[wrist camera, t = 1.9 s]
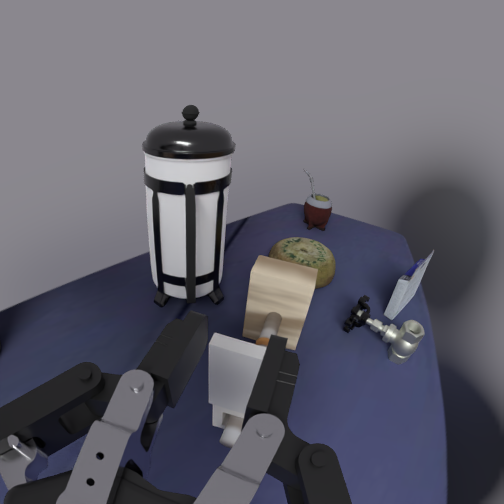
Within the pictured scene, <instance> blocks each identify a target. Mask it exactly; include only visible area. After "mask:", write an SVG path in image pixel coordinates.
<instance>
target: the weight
mask: <svg viewBox="0 0 504 504" xmlns="http://www.w3.org/2000/svg"><path fill="white" fill-rule="evenodd" d="M269 257H270V258H274V259H278V260H282V261H286V262H290V263H294V264H298V265H302V266H306V267H311V268H315V269H318V272H317V278H316V284H315V289H317V288H321V287H324V286H326V285H328V284H329V283H330V282H331V281H332V279H333V277H334V274H335V259H334V257H333V254H332V252H331V251H330V250H329V249H328V248H327V247H325V246H324V245H323V244H321V243H319V242H317V241H315V240H311V239H307V238H299V237H294V238H287V239H283V240H281V241H279V242H277V243H276V244H275V245H274V246H273V247H272V249H271V250H270V252H269Z"/></svg>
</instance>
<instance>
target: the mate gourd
mask: <svg viewBox="0 0 504 504" xmlns="http://www.w3.org/2000/svg"><path fill="white" fill-rule="evenodd" d="M303 170H304V171H305V172H306V173H307V174H308V176H309V177H310V182H311V186H312V193H313V194H311V195H310V196H309V197H308V198H307V199H306V202H305V205H304V214H305V220H304V222H305V223H307V224H309V226H308V227H307V229H308V230H310V229H312V228H314V227H316V228H318V229H320V230H322V231H324V230H325V228H324V227H325V225H326V224H327V222H328V219H329V217H330V215H331V210H332V203H331V200H330V199H329V198H328V197H327V196H324V195H321V194H315V192H314V185H313V178H312V176H311V175H310V174H309V173H308V172H307V171H306V170H305V169H303Z"/></svg>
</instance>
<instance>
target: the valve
mask: <svg viewBox="0 0 504 504" xmlns="http://www.w3.org/2000/svg"><path fill="white" fill-rule="evenodd" d="M369 299H370V298H369V297H367V296H366V295H364V296H363V297H360V299H359V301H358V304H357V306H356V307H353V309H352V311H351V313H352V314H351V316H350V318H348V319H347V320H346V322H345V325H346V326H345V327H344V329H343V330H344V331H345V332H347V333H349V332H350V329H351V330H353V329H354V327H361V326H362V325H365V324H366V323H367V324H368V325H370V326H371V327H370V329H372V330H373V331H375V332H378V331H379V332H380V333H381V334H380V335H382V336H383V338H382V340H383V341H384V342H386V343H387V342H390V343H392V344H391V346H390V347H389V349H388V358H389V360H391V361H392V362H394V363H396V364H398V365H399V364H402V363H404V362H406V361H407V360H408V358H409V357H410V356H411V354H412V353H414V352H415V350H416V349H417V346H418V342H420V341H421V339H422V337H423V336H424V329H423V327H422V325H421V324H419V323H418V322H416V321H414V320H409V321H406V322H404V323H403V325H402V327H401V329H400V330H398V329H396V326H395V325H393V324H391V325H390V326H387V325H385V326H383V325H382V322H380V321H379V320H377V319H375V320H372V319H370V314H369V313H370V307H369V306H368V304H366V303H365V302H366V301H369ZM363 309H364V310H365V309H367V311H366V312H365V311H362V310H363ZM356 320H357V322H359V323H357V322H356Z"/></svg>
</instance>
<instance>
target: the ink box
mask: <svg viewBox="0 0 504 504" xmlns="http://www.w3.org/2000/svg"><path fill="white" fill-rule="evenodd" d="M433 252H434V250H433ZM433 252H432V253H431V254H430V255H429V256H428V257H427V258H426V259H420V260H419V261H418V262H417V263H416V264H415V265H414V266H413V267H412V268H410V269H409V270H408V271H407V272H406V273H405V274H404V275H403V276H402V277H401V278H400V279H399V280H398V282H397V285H396V287H395V289H394V292H393V294H392V297H391V299H390V301H389V304H388V306H387V308H386V310H385V313H384V315H385V316H386V317H388V318H389V319H390V320H393V319H394V318H395V317H396V315H397V314H398V313H399V312H400V311H401V310H402V309H403V308H404V306H405V305H406V304H407V303H408V302H409V301H410V300H411V299H412V297H413V296H414V294H415V292H416V290H417V288H418V286H419V283H420V281H421V279H422V276H423V274H424V272H425V269H426V267H427V265H428V262H429V261H430V258H431V256H432V254H433Z"/></svg>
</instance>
